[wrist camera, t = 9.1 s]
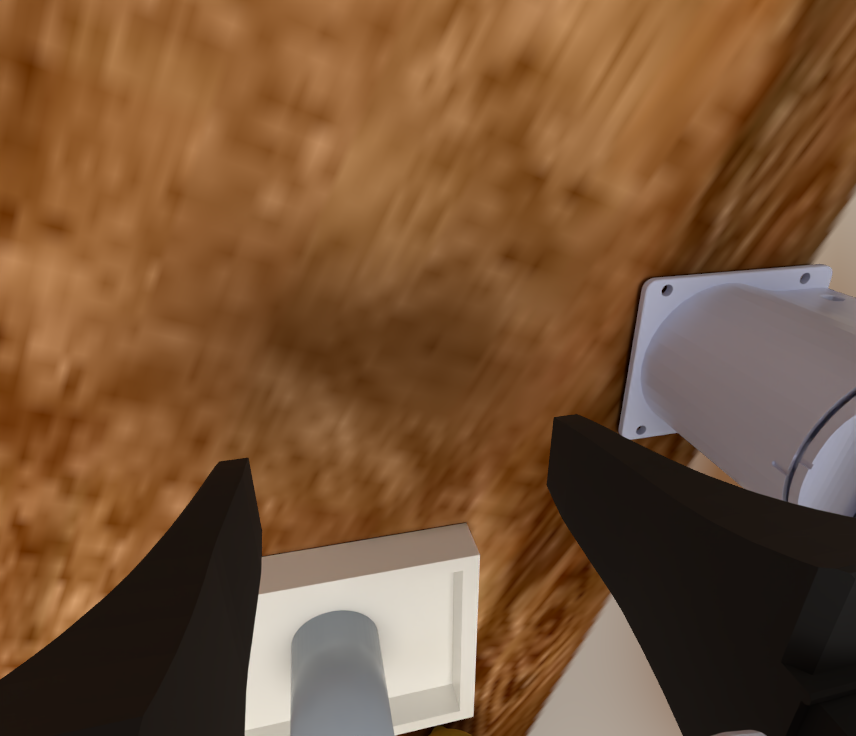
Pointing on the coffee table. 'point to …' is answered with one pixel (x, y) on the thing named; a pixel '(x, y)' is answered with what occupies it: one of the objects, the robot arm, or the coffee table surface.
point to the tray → (390, 611)
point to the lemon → (448, 732)
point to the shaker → (338, 678)
